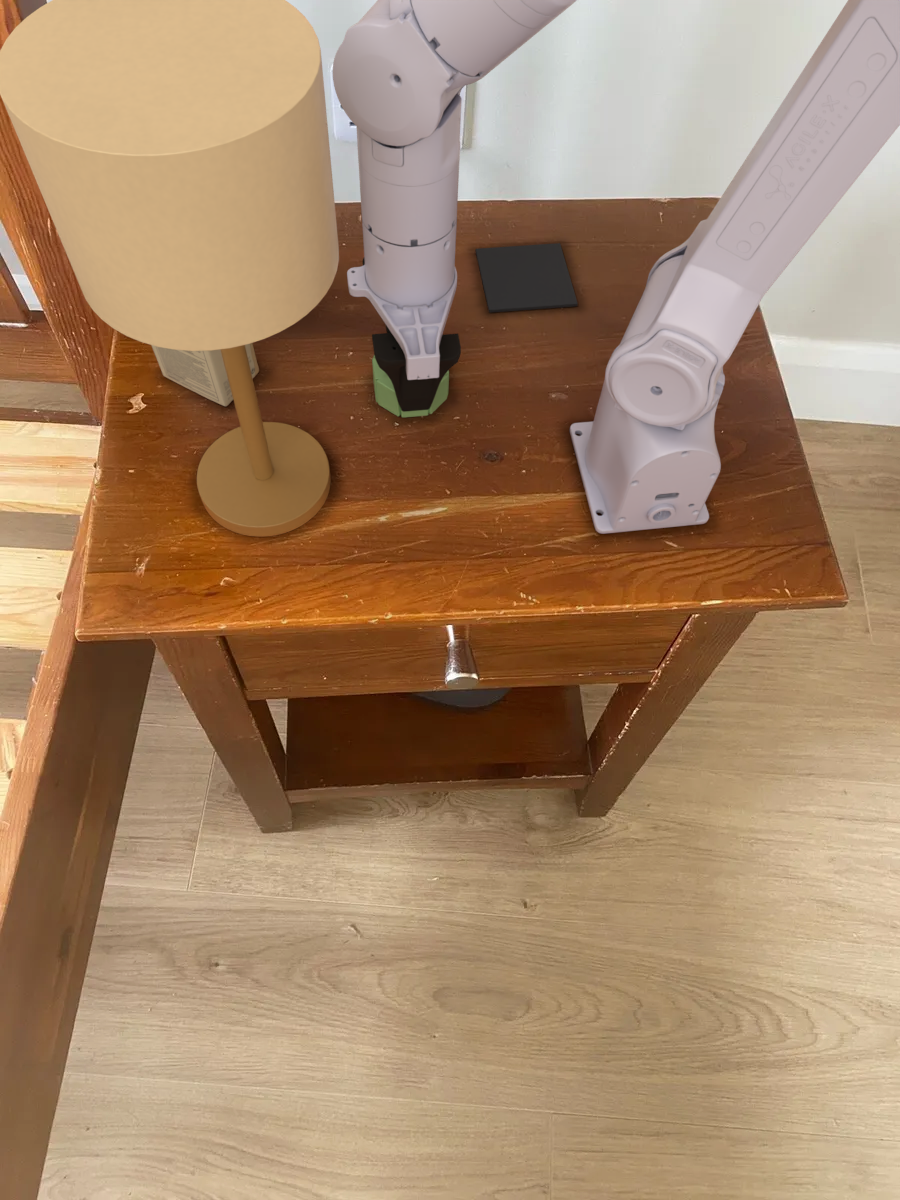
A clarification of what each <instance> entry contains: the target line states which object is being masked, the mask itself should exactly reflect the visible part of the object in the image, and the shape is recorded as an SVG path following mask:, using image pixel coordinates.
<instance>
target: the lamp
mask: <svg viewBox="0 0 900 1200" xmlns="http://www.w3.org/2000/svg"><path fill="white" fill-rule="evenodd" d="M324 80H325V79H324V69H323V59H322V49H321V44H320V41H319V37H318V36H317V33H316V31H315V29H314V27H313V25H312V24H311V23H310V21H309V20H308V18H307V17H306V16H305V15H304V14H303V13H302V12H301V11H300V10H299V9H298V8H297V7H296V6H294V5H293V4H291V3H290V2H289V1H288V0H50V1H49V2H47V3H45V4H44V5H42V6H40V7H39V8H37V9H36V10H34V11H33V12H32V13H30V14H29V15H28V16H26V17H25V18H24V19H23V20H21V22H20V23H19V24H18V25H17V26H16V27H15V28H14V29H13V30H12V31H11V33H10V34H9V35H8V36H7V38H6V39H5V40H4V43H3V45H2V46H1V48H0V97H1V100H2V103H3V105H4V107H5V110H6V112H7V115H8V117H9V119H10V122H11V124H12V127H13V129H14V131H15V133H16V135H17V138H18V141H19V142H20V146H21V148H22V151H23V153H24V155H25V157H26V160H27V163H28V165H29V167H30V169H31V172H32V174H33V177H34V179H35V181H36V184H37V187H38V189H39V191H40V194H41V196H42V198H43V201H44V203H45V206H46V208H47V210H48V213H49V215H50V217H51V220H52V222H53V225H54V228H55V230H56V232H57V234H58V237H59V240H60V242H61V244H62V246H63V249H64V252H65V254H66V257H67V259H68V261H69V264H70V266H71V269H72V270H73V273H74V276H75V278H76V281H77V283H78V285H79V288H80V290H81V292H82V294H83V297H84V299H85V301H86V302H87V304H88V305H89V307H90V309H91V310H92V311H93V312H94V313H95V314H96V315H97V316H98V317H99V318H100V319H101V320H102V321H103V322H104V323H106V324H107V325H108V326H109V327H111V328H112V329H113V330H115V331H117V332H119V333H120V334H122V335H124V336H126V337H128V338H131V339H133V340H135V341H137V342H140V343H142V344H143V343H144V344H147V345H149V346H152V345H153V346H157V347H162V348H168V349H174V350H186V351H210V350H219V349H220V350H221V354H222V358H223V362H224V365H225V369H226V373H227V377H228V381H229V384H230V388H231V392H232V396H233V400H232V401H233V403H234V408H235V411H236V414H237V418H238V424H239V426H238V427H235V428H233V429H231V430H229V431H227V432H226V433H224V434H222V435H221V436H219V438H217V439H216V440H214V442H213V443H212V444H211V445H209V446H208V448H207V449H206V450H205V452H204V453H203V455H202V457H201V459H200V461H199V464H198V467H197V471H196V487H197V491H198V494H199V497H200V500H201V502H202V505H203V507H204V509H205V510H206V512H207V513H208V515H209V516H210V517H211V519H212V520H214V521H215V522H216V523H217V524H219V525H220V526H221V527H223V528H225V529H227V530H229V531H231V532H233V533H236V534H239V535H241V536H242V535H243V536H249V537H256V538H257V537H272V536H273V537H274V536H278V535H283V534H286V533H289V532H291V531H294V530H296V529H298V528H300V527H302V526H304V525H305V524H306V523H308V522H309V521H310V520H312V518H314V517H315V516H316V515H317V514H318V513H319V512H320V511H321V509H322V507H323V506H324V505H325V503H326V501H327V499H328V497H329V493H330V491H331V484H332V476H331V468H330V463H329V459H328V455H327V453H326V451H325V450H324V448H323V446H322V445H321V444H320V442H319V441H318V440H317V439H315V437H314V436H312V435H311V434H310V433H309V432H307V431H305V430H304V429H301V428H299V427H297V426H296V425H295V426H294V425H291V424H289V423H283V422H277V421H263V418H262V414H261V409H260V406H259V400H258V397H257V392H256V388H255V383H254V378H252V374H251V370H250V365H249V361H248V356H247V352H246V348H245V345H247V344H250V343H253V344H254V343H256V342H259V341H263V340H266V339H267V338H270V337H272V336H274V335H276V334H279V333H282V332H284V331H285V330H287V329H288V328H290V327H292V326H293V325H295V324H296V323H298V322H299V321H301V320H303V318H305V317H306V316H307V315H308V314H310V312H311V311H312V310H314V309H315V308H316V307H317V306H318V305H319V304H320V302H322V300H323V298H324V297H325V296H326V295H327V293H328V291H329V290H330V288H331V286H332V284H333V282H334V281H335V277H336V275H337V271H338V266H339V263H340V246H339V245H340V244H339V236H338V224H337V223H338V222H337V213H336V203H335V202H336V201H335V192H334V191H335V190H334V180H333V169H332V158H331V148H330V138H329V137H330V136H329V125H328V113H327V103H326V92H325V81H324Z"/></svg>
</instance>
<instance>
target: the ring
mask: <svg viewBox="0 0 900 1200" xmlns="http://www.w3.org/2000/svg"><path fill="white" fill-rule="evenodd" d="M371 362H372V364H371V365H372V366H371V367H372V380H373V390H374V396H375V398H374V399H375V403H377V404H378V405H379V406H380V407H381V408H383V409H385V410H386V411H388V412H390V413H391V414H393V415H395V416H396V417H401V418H403V419H404V418H414V417H426V416H429V414H430V415H432V414H433V413H434V412H435V411H436V410H437V409H438V408H439V407H440V406H441V405H443V403H444V402H446V400H448V396H449V389H450V387H449V386H450V385H449V384H450V382H449V381H450V369H449V370H448V371H447V373H446V374H445V375H444V377H443V378H442V380H441V382H440V384H439V387H438V389H437V392H436V395H435V398H434V400H433V403H432V405H431V407H430V409H428V410H419V411H406V412H403V411H402V410H401V408H400V406H399V403H398V401H397V397H396V394H395V390H394V387H393V384H392V382H391V380H390V378H389V377H388V375H387V374H386V373H385V372H384V371H383V370H382V369H380V368H379V366H378V364H377V361H376V359H375V355H374V354H373V357H372V358H371Z"/></svg>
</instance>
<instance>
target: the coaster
mask: <svg viewBox="0 0 900 1200" xmlns="http://www.w3.org/2000/svg"><path fill="white" fill-rule="evenodd" d="M474 252H475V256H476V261H477V265H478V269H479V273H480V278H481V283H482V287H483V291H484V292H483V293H484V297H485V300H486V305H487V310H488V313H489V314H490V313H491V314H492V313H502V312H503V313H505V312H516V311H517V312H518V311H531V310H533V311H534V310H544V309H545V310H546V309H558V308H559V309H560V308H572V307H573V308H574V307H578V300H577V296H576V292H575V289H574V286H573V283H572V280H571V275H570V272H569V269H568V265H567V262H566V258H565V256H564V252H563V248H562V245H561V243H560V242H557V243H542V244H524V245H510V246H496V247H481V248H479V247H478V248H475V251H474Z"/></svg>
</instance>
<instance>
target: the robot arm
mask: <svg viewBox="0 0 900 1200" xmlns="http://www.w3.org/2000/svg"><path fill="white" fill-rule="evenodd" d="M577 1H578V0H376V1H375V2H374V3H373V5H372V6H371V7H370V8H369V9H368V10H367V11H366V12H365V14H364V15H363V16H362V17H361V18H360V19H359V20H358V22H356V23H354V24H353V25H351V26H349V27H348V29H346V31H345V34H344V37H343V40H342V43H341V44H340V45H339V46H338V48H337V50H336V53H335V55H334V58H333V63H332V81H333V86H334V90H335V94H336V96H337V99H338V102H339V104H340V106H341V108H342V110H343V111H344V113H345V114H346V116H347V117H348V119H349V120H350V121H351V123H352V124H353V125H355V127H356V140H357V143H356V144H357V145H356V147H357V161H358V162H357V163H358V177H359V194H360V209H361V212H360V213H361V222H362V223H361V224H362V225H361V226H362V241H363V242H362V243H363V258H362V265H361V266H354V267H350V268H349V269H348V270H347V272H346V277H347V287H348V288H347V289H348V293H349V295H350V296H352V297H355V298H366V299H368V301H369V302H370V303H371V305H372V306H373V308H374V310H375V311H376V312H377V314H378V315H379V317H380V318H381V320H382V322H383V323H384V325H385V329H386V332H381V333H372V334H371V340H372V348H373V356H374V355H375V359H376V361H377V364H378V366H379V368H380V369H382V370H383V371H384V372H385V373H386V374H387V375H388V377H389V378H390V380H391V382H392V384H393V387H394V390H395V394H396V397H397V401H398V403H399V406H400V408H401V410H402V411H403V412H406V411H419V410H428V409H430V407H431V405H432V403H433V400H434V398H435V395H436V392H437V389H438V387H439V384H440V382H441V380H442V378H443V377H444V375H445V374H446V373H447V371H448V370H449V371H450V369H451V368H453V367H454V366H455V365H457V364H458V363H459V360H460V357H461V353H462V347H461V341H460V336H459V333H447V334H444V331H445V327H446V324H447V321H448V318H449V315H450V311H451V309H452V308H451V307H452V306H453V305H452V304H453V301H454V299H455V295H456V291H457V287H458V272H457V267H456V266H455V265H456V246H457V245H456V243H457V227H458V226H457V225H458V223H457V222H458V203H459V202H458V199H459V180H460V179H459V178H460V159H461V120H462V97H461V92H462V90H463V88H464V87H465V86H466V87H467V86H469V85H471V84H474V83H477V82H478V81H480V80H482V79H483V78H485V76H487V75H488V74H489V73H490V72H492V71H493V70H494V69H495V68H497V67H498V66H499V65H501V63H503V62H504V61H506V60H507V59H508V58H509V57H510V56H511V55H512V54H514V53H515V52H516V51H517V50H519V48H521V47H522V46H524V45H525V44H526V43H527V42H528V41H529V40H530V39H532V38H533V37H535V36H536V35H537V34H538V33H539V32H541V30H543V29H544V28H546V26H548V25H549V24H550V23H552V21H554V20H555V19H557V18H558V17H559V16H560V15H561V14H562V13H564V12H565V11H566V10H567V9H569V8H570V7H571V6H572V5H573V4H574V3H576V2H577ZM899 127H900V0H847V2H846V3H845V5H844V6H843V7H842V8H841V11H840V12H839V14H838V15H837V17H836V18H835V20H834V22H832V24H831V26H830V28H829V29H828V31H827V32H826V33H825V35H824V37H823V39H822V40H821V42H820V43H819V44H818V46H817V48H816V49H815V51H814V53H813V54H812V55H811V57H810V59H809V60H808V62H807V63H806V65H805V66H804V68H803V70H802V71H801V72H800V74H799V76H798V77H797V79H796V80H795V81H794V83H793V85H792V86H791V88H790V90H789V91H788V93H787V94H786V96H785V97H784V98H783V101H782V102H781V103H780V105H779V107H778V108H777V110H776V111H775V113H774V114H773V116H772V117H771V119H770V121H769V122H768V124H767V126H766V127H765V128H764V130H763V132H762V133H761V134H760V136H759V138H758V139H757V141H756V142H755V144H754V146H753V147H752V149H751V150H750V152H749V153H748V155H747V156H746V158H745V159H744V161H743V162H742V164H741V166H740V167H739V169H738V170H737V172H736V173H735V175H734V177H733V178H732V179H731V180H730V183H729V184H728V186H727V188H726V189H725V191H724V192H723V194H722V195H721V197H720V198H719V200H718V201H717V203H716V204H715V206H714V208H713V209H712V211H711V212H710V214H709V215H708V216H707V218H706V219H702V220H700V222H699V223H698V224H697V226H696V227H695V228H694V230H693V232H692V233H691V234H690V236H689V237H688V238H687V239H686V240H685V241H684V242H683V243H681V244H680V245H678V246H675V247H674V248H673V249H671V250H668V251H667V252H666V253H664V254H663V255H661V256H660V257H659V258H658V259H657V260H656V261H655V262H654V264H653V265H652V267H651V269H650V271H649V273H648V277H647V280H646V284H645V288H644V291H643V293H642V294H641V297H640V299H639V301H638V304H637V306H636V308H635V310H634V312H633V314H632V316H631V319H630V320H629V323H628V325H627V327H626V330H625V331H624V334H623V336H622V338H621V340H620V343H619V344H618V345H617V346H616V347H615V349H614V350H613V351H612V353H611V356H610V357H609V360H608V362H607V365H606V368H605V374H604V380H603V384H602V387H601V391H600V394H599V399H598V403H597V406H596V410H595V414H594V417H593V421H581V422H573V423H572V424H571V425H570V426H569V434H570V438H571V443H572V446H573V449H574V453H575V457H576V462H577V465H578V469H579V472H580V477H581V481H582V484H583V488H584V492H585V495H586V500H587V503H588V508H589V512H590V515H591V518H592V523H593V527H594V529H595V532H597V533H598V534H616V533H625V532H634V531H645V530H655V529H663V528H664V529H666V528H675V527H685V526H686V527H687V526H696V525H704V524H707V523H708V521H709V519H710V513H709V510H708V508H707V504H706V502H707V500H708V498H709V495H710V493H711V491H712V489H713V487H714V486H715V483H716V482H717V480H718V477H719V475H720V473H721V468H722V464H721V463H722V462H721V457H720V454H719V449H718V446H717V443H716V435H715V420H716V412H717V409H718V405H719V401H720V399H721V396H722V395H723V394H722V393H723V390H724V386H725V383H726V376H725V373H724V365H725V364H726V363H727V362H728V360H730V358H731V356H732V354H733V352H734V351H735V349H736V347H737V346H738V344H739V342H740V340H741V338H742V336H743V334H744V333H745V331H746V329H747V327H748V325H749V323H750V321H751V320H752V318H753V316H754V314H755V312H756V311H757V308H758V307H759V305H760V303H761V301H762V300H763V298H764V296H765V295H766V294H767V293H768V292H769V290H770V288H771V287H772V286H773V285H774V284H775V282H776V281H777V280H778V279H779V278H780V277H781V275H782V274H783V272H784V271H785V270H786V268H787V267H788V266H789V265H790V264H791V262H792V261H793V260H794V259H795V258H796V256H797V255H798V254H799V252H800V251H801V249H803V247H804V246H805V245H806V243H807V242H808V241H809V240H810V239H811V237H812V236H813V235H814V234H815V232H816V231H817V230H818V228H819V227H820V226H821V225H822V223H823V222H824V221H825V219H827V217H828V216H829V215H830V213H831V212H832V211H833V210H834V209H835V207H836V206H837V204H838V203H839V202H840V201H841V200H842V199H843V197H844V196H845V195H846V193H848V191H849V190H850V188H851V187H852V186H853V184H855V182H856V180H858V178H859V177H860V176H861V175H862V173H863V172H864V171H865V170H866V168H867V167H868V166H869V164H870V163H871V162H872V161H873V159H875V157H876V156H877V154H878V153H879V152H880V151H881V150H882V148H883V147H884V146H885V144H887V142H888V140H889V139H890V138H892V136H893V135H894V133H895V132H896V131H897V130H898V128H899ZM598 514H600V515H598Z"/></svg>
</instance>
